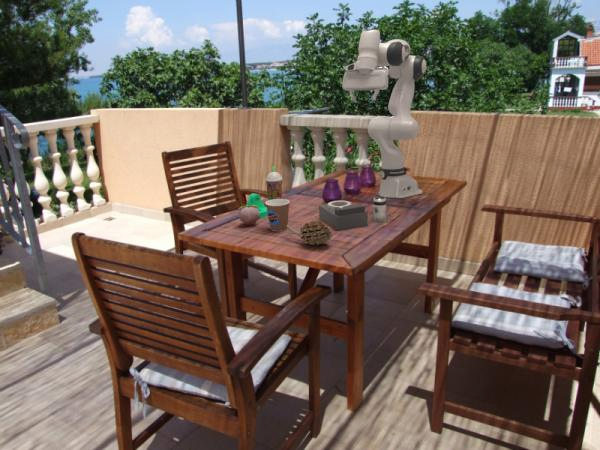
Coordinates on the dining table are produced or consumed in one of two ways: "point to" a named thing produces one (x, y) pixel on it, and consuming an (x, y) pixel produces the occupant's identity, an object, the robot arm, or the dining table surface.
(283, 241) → the dining table surface
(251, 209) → the decorative fruit
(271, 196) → the smoothie
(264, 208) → the camera mount
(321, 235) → the pine cone
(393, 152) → the robot arm
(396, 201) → the dining table surface
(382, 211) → the lens
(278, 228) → the coffee cup
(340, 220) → the camera body
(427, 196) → the dining table surface
